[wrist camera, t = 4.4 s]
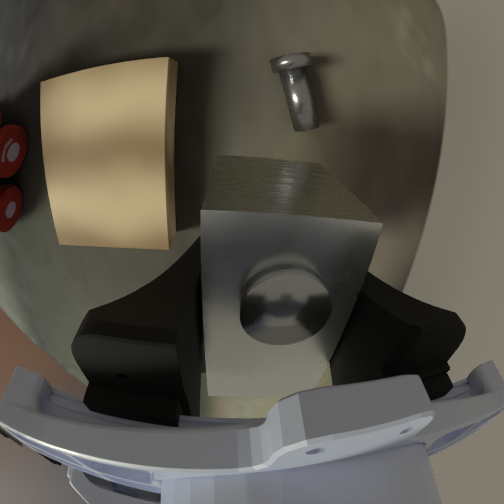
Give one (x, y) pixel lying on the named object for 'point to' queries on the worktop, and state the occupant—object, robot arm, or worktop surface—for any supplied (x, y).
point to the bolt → (297, 89)
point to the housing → (278, 273)
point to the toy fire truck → (10, 172)
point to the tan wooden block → (112, 154)
